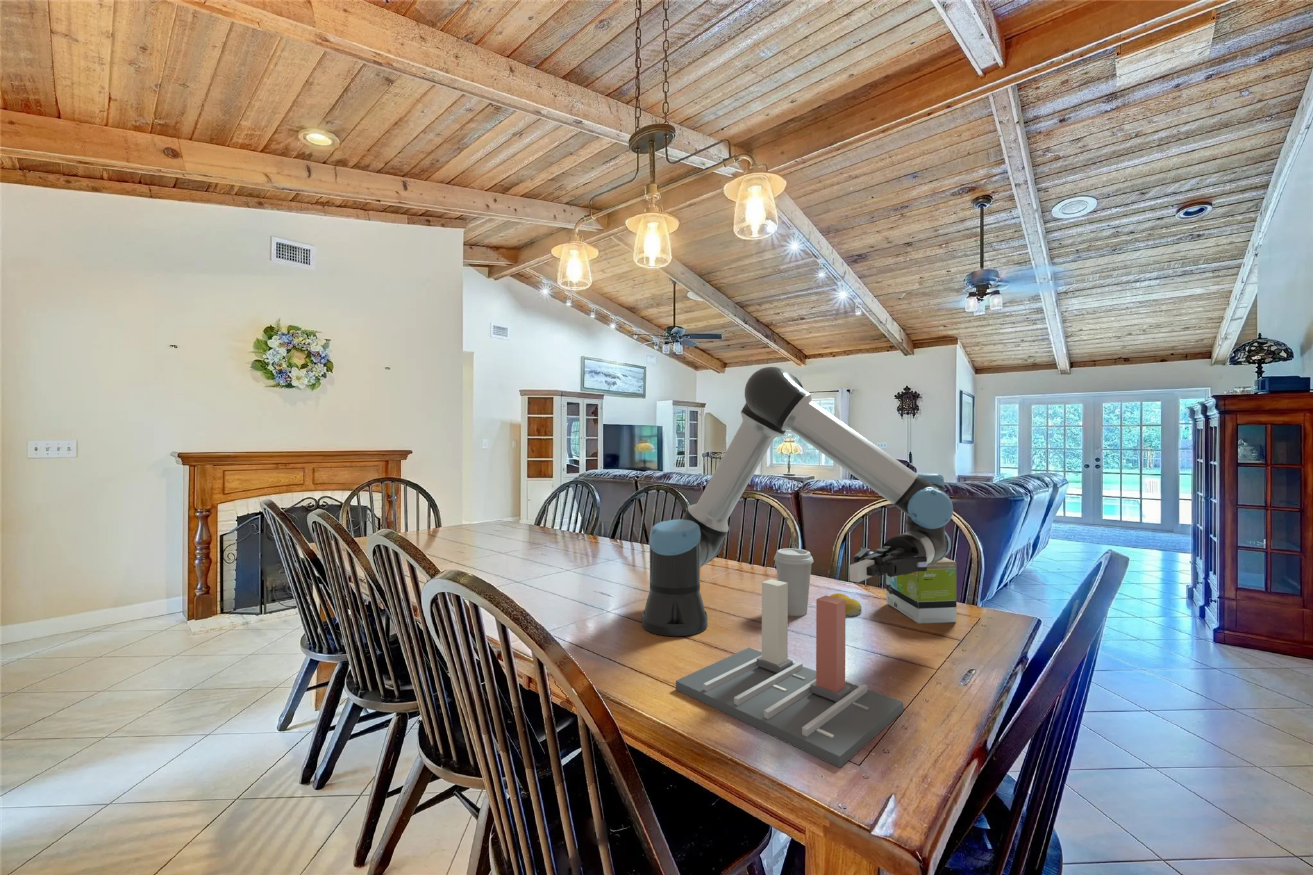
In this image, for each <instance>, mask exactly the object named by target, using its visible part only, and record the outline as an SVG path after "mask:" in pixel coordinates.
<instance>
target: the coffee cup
mask: <svg viewBox="0 0 1313 875" xmlns="http://www.w3.org/2000/svg"><path fill="white" fill-rule="evenodd" d="M773 561H775V565H776V577H777V578H776V579H777V581H781V582H786V583H788V616H790V617H803V615H804V616H806V615H807V614H808V605H809V595H810V594H809V593H810V584H811V573H812V564H813V563H814V559H813V556H812V555H811V552H810V551H809V550H807V549H801V548H781V549H778V550H777V551H776V553H775V555H774V558H773Z"/></svg>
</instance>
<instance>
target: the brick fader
mask: <svg viewBox="0 0 1313 875" xmlns="http://www.w3.org/2000/svg"><path fill="white" fill-rule="evenodd" d="M845 603H846V600H843V599H839V598H835V597H830V595H824V596H820V597H819V598H816V603H815V605H816V607H815V608H816V612H815V614H816V618H815V620H816V621H815V622H816V624H815V625H816V626H815V627H816V628H815V629H816V631H815V632H816V633H815V634H816V636H815V638H816V640H815V641H816V644H815V649H816V650H815V652H816V653H815V656H816V657H815V660H816V661H815V662H816V664H815V671H816V681H815V682H813V683H812V684H810V692H812V693H815V694H818V695H820V696H823V697H825V698H828V699H831V700H833V701H836V702H838V701H840V700H841V699H843V698H844V697H845V696H847V695H848V694H850V693H851V687H850V686H847V685H845V681H846V616H845Z"/></svg>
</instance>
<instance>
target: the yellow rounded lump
mask: <svg viewBox="0 0 1313 875" xmlns="http://www.w3.org/2000/svg"><path fill="white" fill-rule="evenodd" d="M829 596H830V597H835V598H839V599H843V600H846V603H845V617H856V616H859V615H860V614H861V613H862V611H863V610H862V609H863V608H862V605H861V603H860V602H859V601H858V600H856V599H854V598H851V597H849V596H848V595H846V594H843V593H837V592H836V593H833V594H830V595H829Z"/></svg>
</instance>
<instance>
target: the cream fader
mask: <svg viewBox="0 0 1313 875" xmlns="http://www.w3.org/2000/svg"><path fill="white" fill-rule="evenodd" d="M788 616H789V615H788V583H786V582H781V581H778V579H777V580H776V579H772V578H771V579H767V580H764V581H762V582H761V652H762V656H761V657H759V658H757V666H760V667H763V668H765V669H768V670H771V671H773V672H776V673H779V672H781V671H783V670H785V669H787V668H789V667H790V666H792V665H793V663H794V662H793V660H792V659H789V658H788V655H789V654H788V652H789V651H788V650H789V649H788V643H789V642H788V636H789V635H788V634H789V633H788V632H789V629H788V626H789V625H788V622H789V621H788V620H789V618H788Z"/></svg>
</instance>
